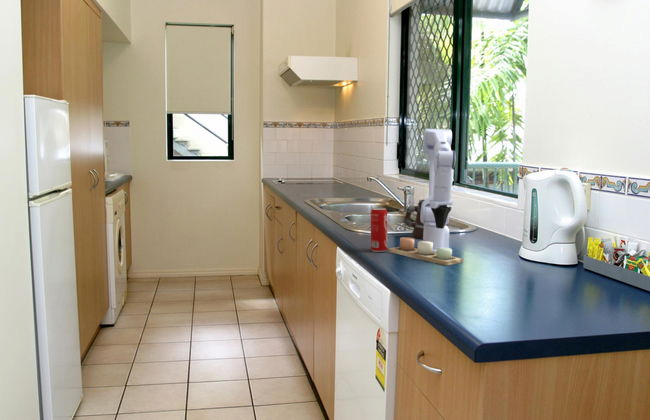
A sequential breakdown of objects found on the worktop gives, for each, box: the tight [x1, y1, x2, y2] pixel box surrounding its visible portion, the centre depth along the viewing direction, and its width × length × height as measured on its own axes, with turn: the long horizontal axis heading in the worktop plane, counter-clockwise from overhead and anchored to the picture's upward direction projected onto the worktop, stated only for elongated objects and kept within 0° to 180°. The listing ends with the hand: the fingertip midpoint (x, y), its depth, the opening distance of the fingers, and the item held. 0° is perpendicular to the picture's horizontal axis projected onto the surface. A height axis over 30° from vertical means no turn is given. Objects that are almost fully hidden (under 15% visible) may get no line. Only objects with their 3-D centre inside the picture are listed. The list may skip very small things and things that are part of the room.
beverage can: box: [370, 207, 388, 253], centre depth 214 cm, size 6×6×15 cm
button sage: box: [435, 247, 453, 260], centre depth 201 cm, size 5×5×4 cm
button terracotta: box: [399, 236, 416, 250], centre depth 213 cm, size 5×5×4 cm
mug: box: [403, 199, 425, 240], centre depth 246 cm, size 16×12×15 cm
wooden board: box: [387, 246, 464, 266], centre depth 207 cm, size 9×25×1 cm, turn 41°
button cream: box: [417, 240, 433, 254], centre depth 207 cm, size 5×5×4 cm
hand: (439, 228), depth 204 cm, fingers closed
